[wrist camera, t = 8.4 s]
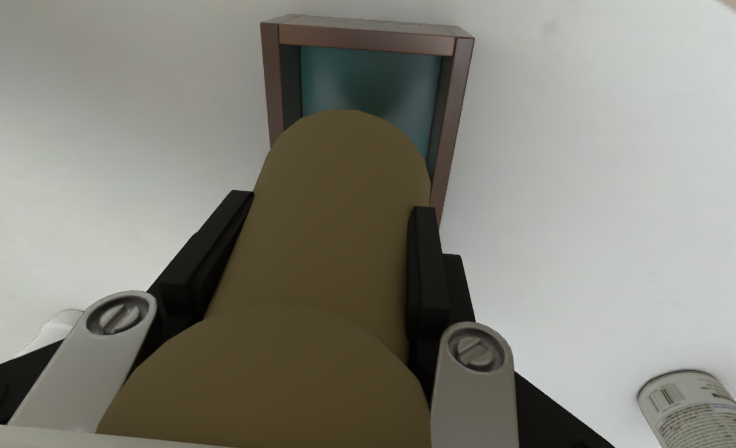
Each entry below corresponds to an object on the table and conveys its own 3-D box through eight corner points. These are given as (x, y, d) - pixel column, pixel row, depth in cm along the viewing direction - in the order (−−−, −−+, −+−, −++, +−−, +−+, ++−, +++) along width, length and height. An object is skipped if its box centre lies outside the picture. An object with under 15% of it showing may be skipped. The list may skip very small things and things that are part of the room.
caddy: (300, 269, 30) (283, 316, 25) (288, 14, 20) (259, 22, 16) (417, 279, 29) (420, 329, 25) (459, 26, 20) (475, 37, 16)
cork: (262, 94, 12) (-200, 464, 3) (450, 125, 12) (616, 584, 3) (262, 247, 15) (51, 656, 6) (411, 271, 15) (430, 706, 6)
